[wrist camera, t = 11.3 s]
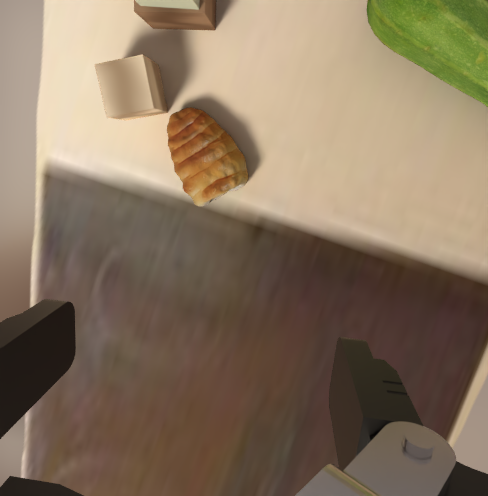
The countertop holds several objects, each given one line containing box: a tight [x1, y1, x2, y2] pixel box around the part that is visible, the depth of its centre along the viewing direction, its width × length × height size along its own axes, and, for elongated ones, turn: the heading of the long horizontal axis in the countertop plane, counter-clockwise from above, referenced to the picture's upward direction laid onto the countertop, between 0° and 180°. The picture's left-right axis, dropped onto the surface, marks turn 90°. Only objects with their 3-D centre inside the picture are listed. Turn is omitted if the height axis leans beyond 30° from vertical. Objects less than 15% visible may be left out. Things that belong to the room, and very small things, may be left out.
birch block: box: [95, 54, 168, 121], centre depth 37 cm, size 4×4×4 cm
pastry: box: [167, 107, 248, 206], centre depth 38 cm, size 9×7×4 cm
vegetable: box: [367, 0, 488, 107], centre depth 32 cm, size 7×7×20 cm
